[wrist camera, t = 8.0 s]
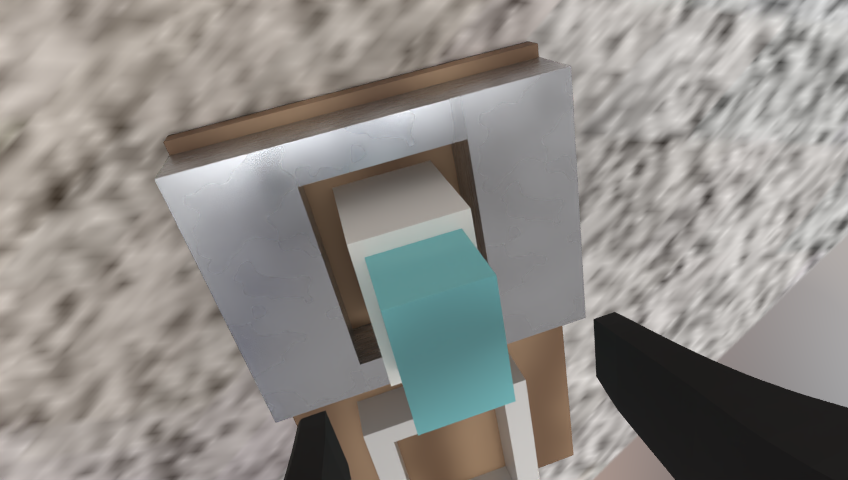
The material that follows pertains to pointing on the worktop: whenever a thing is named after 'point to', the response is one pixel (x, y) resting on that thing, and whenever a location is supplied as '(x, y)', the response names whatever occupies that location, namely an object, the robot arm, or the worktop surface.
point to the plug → (428, 293)
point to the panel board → (422, 454)
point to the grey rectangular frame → (393, 422)
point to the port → (357, 149)
